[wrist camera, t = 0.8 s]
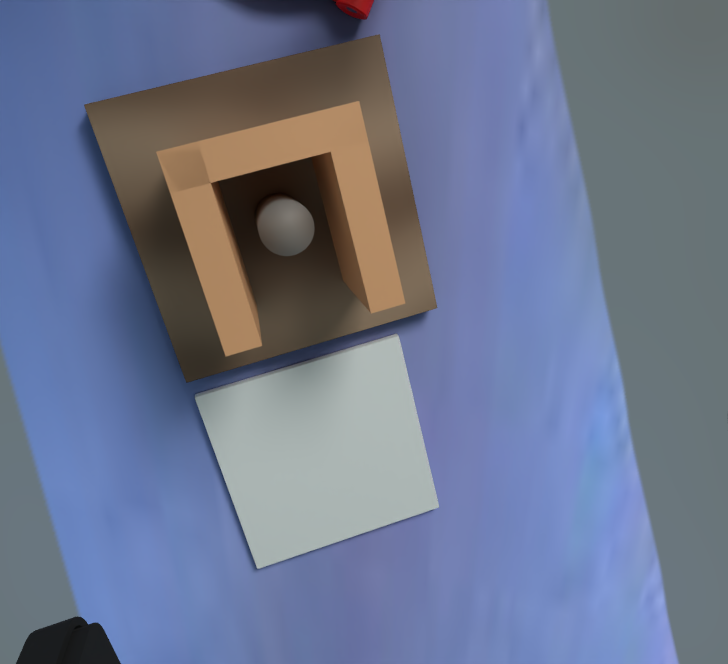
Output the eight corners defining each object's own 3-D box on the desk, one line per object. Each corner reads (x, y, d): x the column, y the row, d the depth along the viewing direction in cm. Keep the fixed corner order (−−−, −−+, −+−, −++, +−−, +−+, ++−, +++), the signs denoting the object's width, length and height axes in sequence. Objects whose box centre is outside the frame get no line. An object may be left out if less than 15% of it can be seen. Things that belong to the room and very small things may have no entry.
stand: (89, 106, 24) (49, 93, 19) (374, 38, 26) (408, 8, 20) (188, 375, 28) (176, 424, 23) (430, 303, 29) (472, 334, 24)
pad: (195, 394, 28) (194, 397, 28) (396, 333, 29) (398, 335, 29) (257, 564, 31) (257, 569, 31) (436, 503, 33) (439, 507, 32)
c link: (174, 153, 24) (156, 151, 19) (331, 113, 25) (359, 100, 19) (228, 314, 26) (225, 356, 21) (370, 273, 27) (405, 303, 22)
